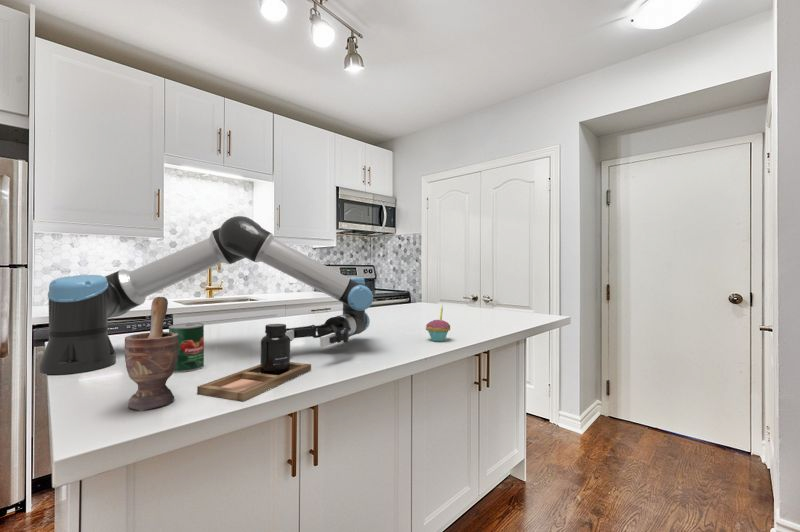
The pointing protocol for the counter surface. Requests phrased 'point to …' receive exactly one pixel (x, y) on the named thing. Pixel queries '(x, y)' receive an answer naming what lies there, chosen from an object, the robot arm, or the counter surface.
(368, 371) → the counter surface
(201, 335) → the canned tomato
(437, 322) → the cupcake
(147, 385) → the mortar and pestle
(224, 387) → the divided wooden tray
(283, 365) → the supplement bottle
